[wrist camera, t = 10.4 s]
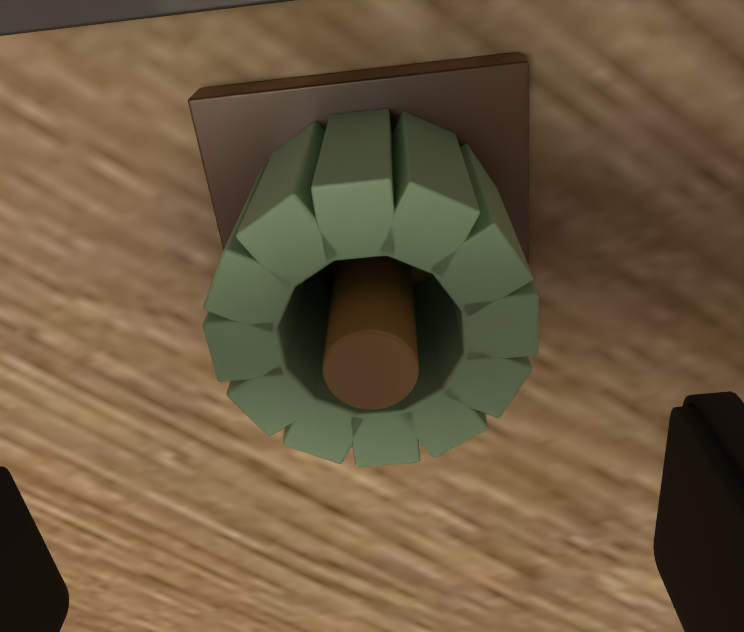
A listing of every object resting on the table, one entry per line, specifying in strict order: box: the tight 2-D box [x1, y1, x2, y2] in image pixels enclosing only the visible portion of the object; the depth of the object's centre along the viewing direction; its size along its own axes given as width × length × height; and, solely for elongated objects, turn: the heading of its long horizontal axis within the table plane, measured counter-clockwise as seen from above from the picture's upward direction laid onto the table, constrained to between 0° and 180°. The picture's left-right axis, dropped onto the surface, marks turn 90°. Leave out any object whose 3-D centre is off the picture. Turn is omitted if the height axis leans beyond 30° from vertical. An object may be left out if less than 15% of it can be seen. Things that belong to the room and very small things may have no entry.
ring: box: [203, 108, 539, 467], centre depth 16 cm, size 7×7×5 cm
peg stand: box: [188, 52, 529, 409], centre depth 16 cm, size 8×8×7 cm
